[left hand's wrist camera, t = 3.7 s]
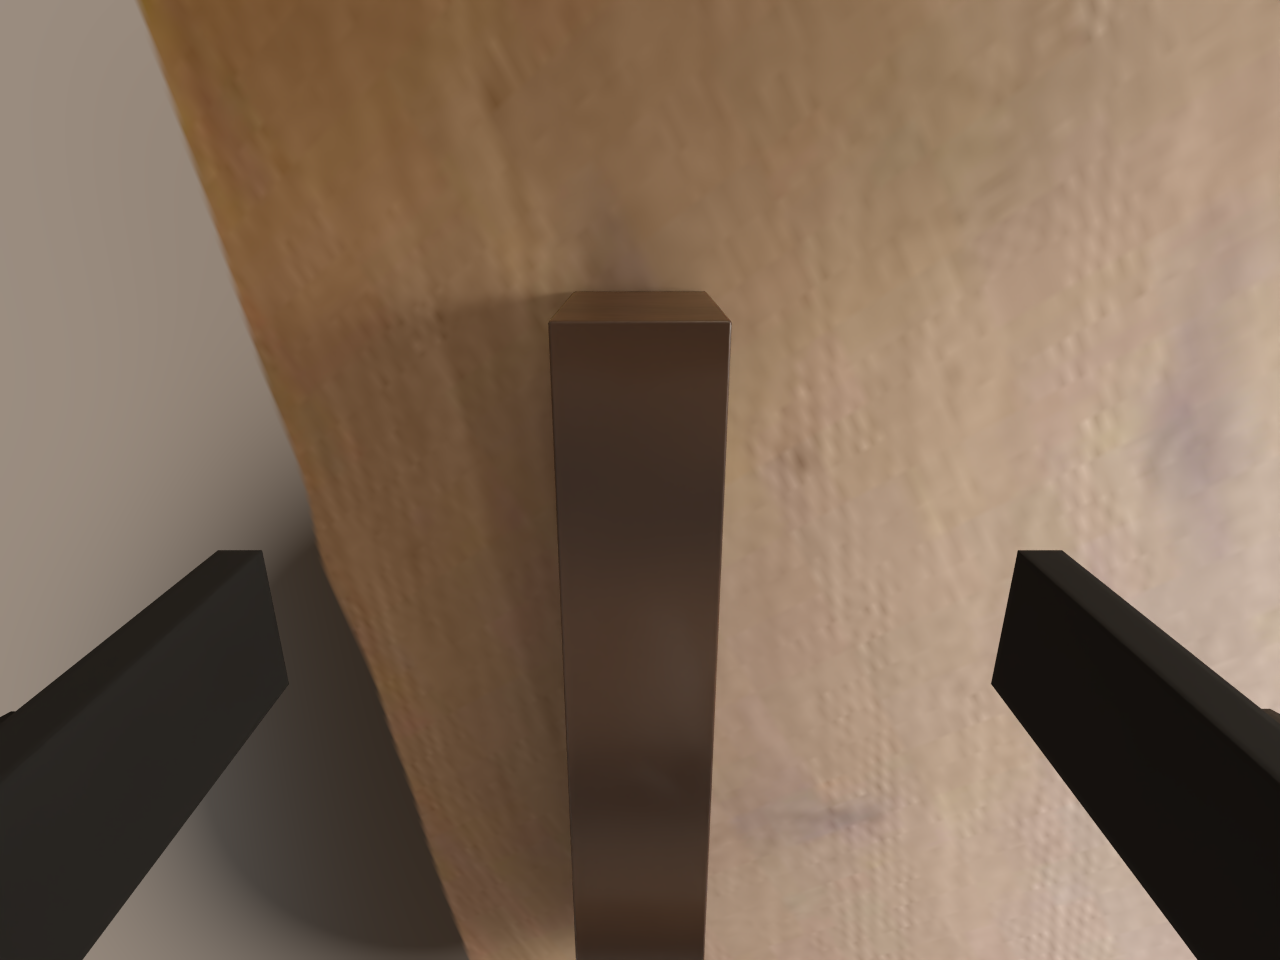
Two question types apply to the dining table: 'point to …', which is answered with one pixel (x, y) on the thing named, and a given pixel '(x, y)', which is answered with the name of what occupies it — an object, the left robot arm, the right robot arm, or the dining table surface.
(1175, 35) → the dining table surface
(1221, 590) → the dining table surface
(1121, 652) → the left robot arm
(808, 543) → the dining table surface
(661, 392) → the beam
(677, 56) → the dining table surface
